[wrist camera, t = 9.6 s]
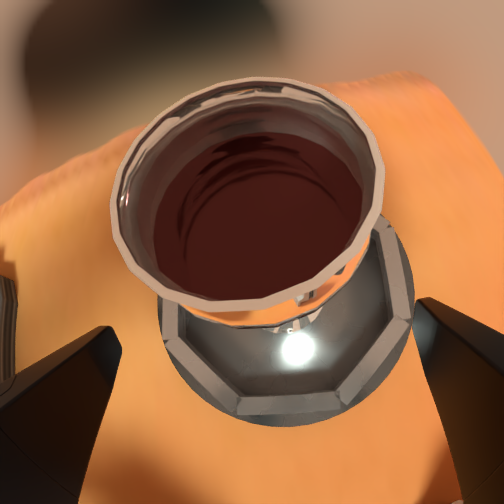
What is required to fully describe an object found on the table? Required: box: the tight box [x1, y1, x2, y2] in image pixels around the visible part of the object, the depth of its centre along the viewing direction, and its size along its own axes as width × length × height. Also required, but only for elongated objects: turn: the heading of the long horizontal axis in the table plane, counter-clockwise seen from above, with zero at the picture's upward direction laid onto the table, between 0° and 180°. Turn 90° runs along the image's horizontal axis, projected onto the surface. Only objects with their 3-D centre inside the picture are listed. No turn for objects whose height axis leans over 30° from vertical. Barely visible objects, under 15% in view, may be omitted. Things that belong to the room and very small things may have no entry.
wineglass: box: [109, 77, 385, 334], centre depth 12 cm, size 7×7×12 cm
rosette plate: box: [158, 214, 415, 427], centre depth 18 cm, size 16×16×2 cm
